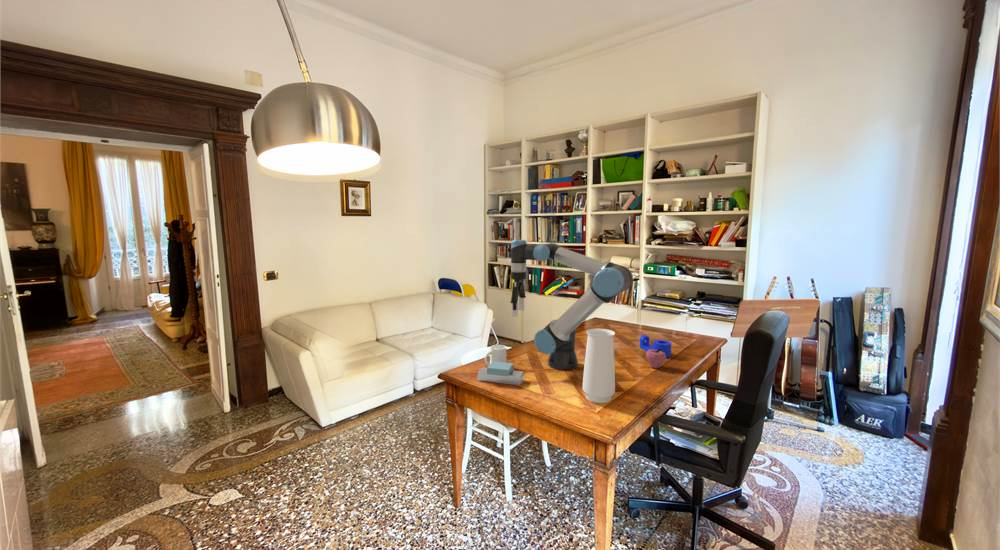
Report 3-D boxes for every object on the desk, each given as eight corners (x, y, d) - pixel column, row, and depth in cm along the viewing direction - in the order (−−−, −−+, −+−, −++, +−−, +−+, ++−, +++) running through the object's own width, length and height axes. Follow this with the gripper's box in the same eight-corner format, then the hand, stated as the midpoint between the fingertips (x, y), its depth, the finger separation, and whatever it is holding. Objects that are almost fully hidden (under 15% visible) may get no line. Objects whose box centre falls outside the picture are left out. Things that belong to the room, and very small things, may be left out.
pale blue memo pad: (513, 376, 186) (513, 363, 185) (508, 384, 178) (508, 370, 177) (492, 374, 189) (492, 361, 188) (487, 381, 180) (487, 367, 180)
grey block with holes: (523, 379, 184) (523, 371, 183) (520, 385, 178) (520, 376, 177) (482, 375, 189) (482, 367, 189) (477, 380, 183) (477, 372, 183)
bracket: (674, 357, 215) (675, 343, 214) (661, 359, 212) (661, 345, 211) (648, 347, 233) (649, 334, 232) (636, 348, 230) (636, 335, 229)
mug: (488, 372, 193) (488, 352, 191) (480, 367, 200) (480, 347, 198) (509, 367, 199) (509, 347, 198) (500, 362, 206) (500, 343, 205)
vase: (619, 404, 159) (622, 336, 155) (587, 405, 158) (589, 337, 154) (608, 390, 172) (610, 327, 168) (578, 391, 171) (580, 328, 167)
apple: (658, 363, 205) (659, 344, 203) (669, 369, 196) (670, 349, 195) (641, 365, 203) (642, 346, 201) (652, 371, 194) (653, 351, 193)
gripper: (517, 268, 210) (516, 307, 213) (504, 274, 186) (504, 318, 189) (531, 268, 208) (530, 308, 211) (520, 274, 184) (519, 319, 187)
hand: (518, 313), depth 200 cm, fingers open, 13 cm apart
